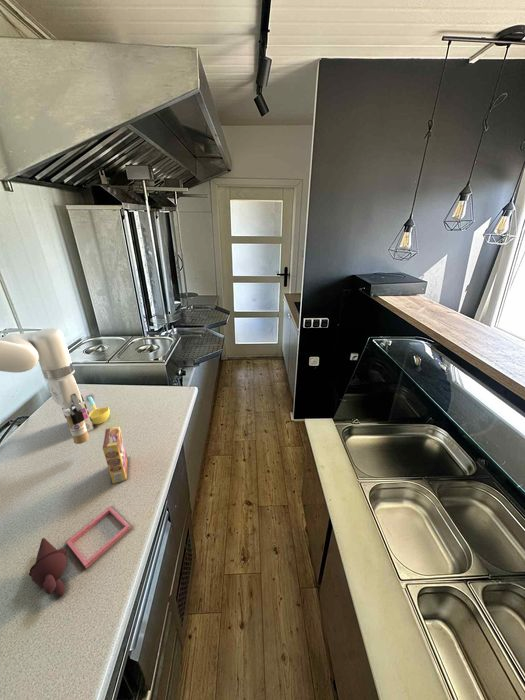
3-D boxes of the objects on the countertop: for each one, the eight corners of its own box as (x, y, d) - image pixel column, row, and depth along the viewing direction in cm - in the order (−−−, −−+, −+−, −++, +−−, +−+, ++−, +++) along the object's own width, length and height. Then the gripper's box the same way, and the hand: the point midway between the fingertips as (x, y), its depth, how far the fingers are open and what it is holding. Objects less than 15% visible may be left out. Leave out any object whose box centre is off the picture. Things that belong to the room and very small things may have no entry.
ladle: (91, 431, 109) (84, 419, 107) (83, 411, 130) (78, 400, 128) (115, 420, 114) (109, 408, 112) (104, 402, 135) (99, 391, 133)
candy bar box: (96, 428, 112) (82, 394, 104) (82, 436, 108) (67, 401, 101) (84, 417, 118) (70, 384, 111) (71, 423, 115) (56, 390, 107)
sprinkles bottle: (76, 446, 93) (64, 413, 87) (72, 439, 96) (60, 406, 90) (91, 439, 96) (81, 406, 90) (87, 433, 99) (76, 400, 93)
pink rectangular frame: (87, 570, 68) (84, 566, 67) (68, 546, 73) (65, 541, 72) (131, 530, 76) (129, 525, 75) (111, 511, 81) (110, 506, 80)
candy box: (128, 481, 90) (117, 444, 83) (113, 485, 89) (100, 448, 82) (129, 460, 98) (119, 425, 91) (115, 463, 96) (104, 428, 90)
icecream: (16, 546, 67) (25, 608, 57) (50, 521, 70) (64, 576, 61) (35, 555, 71) (47, 614, 62) (66, 531, 74) (82, 584, 65)
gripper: (32, 366, 86) (50, 415, 94) (57, 384, 78) (75, 436, 85) (59, 357, 92) (74, 404, 100) (85, 373, 83) (100, 422, 91)
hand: (74, 418), depth 92 cm, fingers closed on sprinkles bottle, 4 cm apart
